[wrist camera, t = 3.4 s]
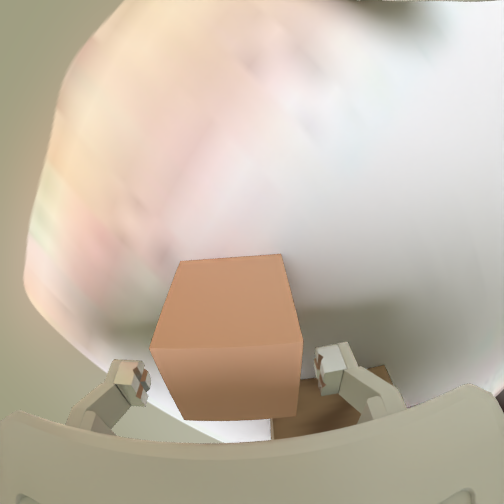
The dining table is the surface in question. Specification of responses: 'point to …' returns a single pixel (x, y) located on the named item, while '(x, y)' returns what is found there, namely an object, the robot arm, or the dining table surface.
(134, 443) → the robot arm
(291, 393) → the terracotta block
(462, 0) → the figurine
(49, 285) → the dining table surface
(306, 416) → the walnut block
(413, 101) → the dining table surface
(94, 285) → the dining table surface
